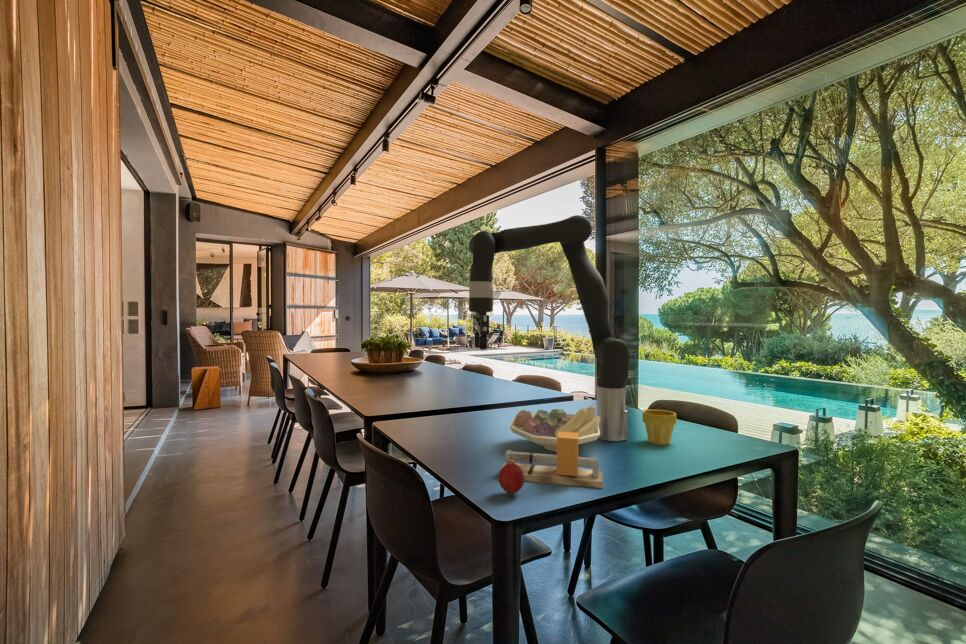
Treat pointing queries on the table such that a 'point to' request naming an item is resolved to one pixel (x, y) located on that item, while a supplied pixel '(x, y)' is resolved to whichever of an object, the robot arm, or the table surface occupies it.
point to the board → (560, 476)
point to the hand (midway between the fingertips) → (480, 348)
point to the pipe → (551, 460)
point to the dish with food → (556, 426)
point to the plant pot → (659, 425)
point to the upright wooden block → (567, 453)
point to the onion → (511, 478)
